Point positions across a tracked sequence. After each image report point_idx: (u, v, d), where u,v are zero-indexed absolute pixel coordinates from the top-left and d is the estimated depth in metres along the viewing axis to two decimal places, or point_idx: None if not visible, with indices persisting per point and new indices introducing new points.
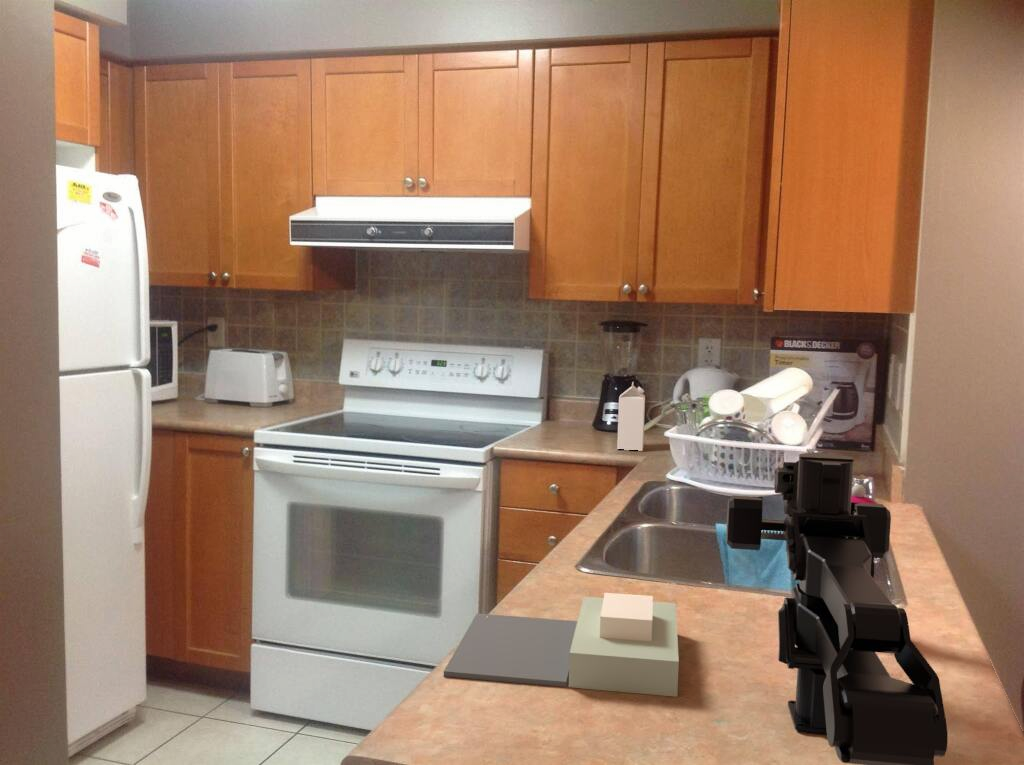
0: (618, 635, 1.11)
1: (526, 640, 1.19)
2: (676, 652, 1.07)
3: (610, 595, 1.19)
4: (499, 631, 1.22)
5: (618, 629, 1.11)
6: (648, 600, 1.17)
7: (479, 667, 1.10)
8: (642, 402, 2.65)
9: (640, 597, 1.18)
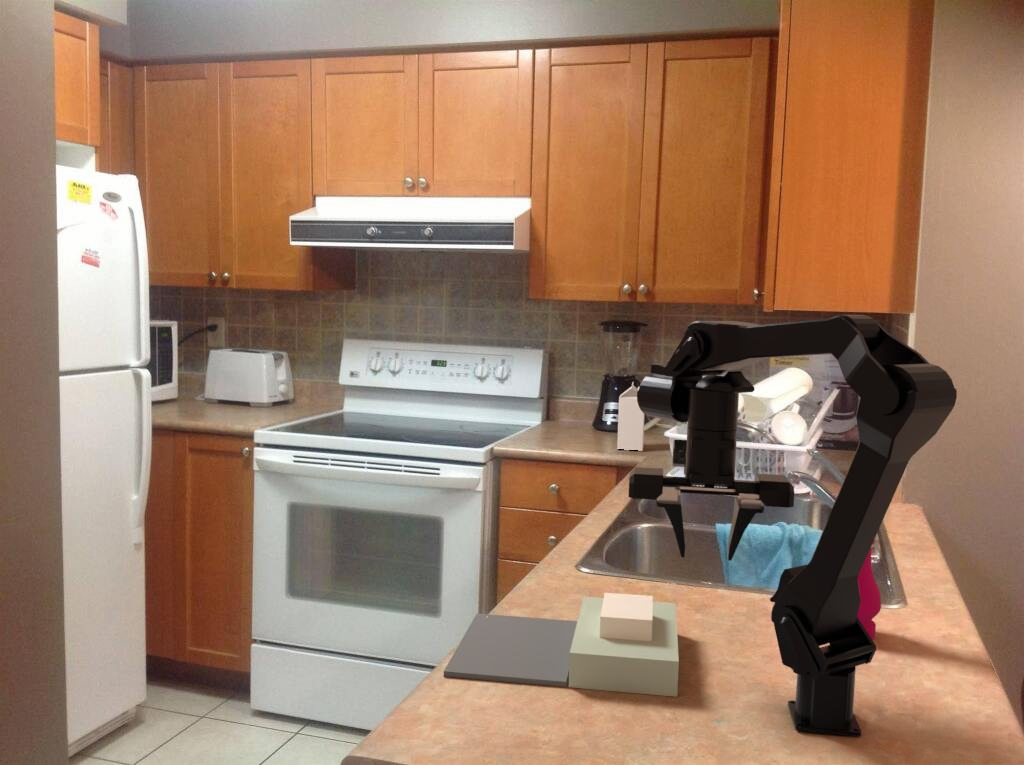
0: (618, 635, 1.11)
1: (526, 640, 1.19)
2: (676, 652, 1.07)
3: (610, 595, 1.19)
4: (499, 631, 1.22)
5: (618, 629, 1.11)
6: (648, 600, 1.17)
7: (479, 667, 1.10)
8: None
9: (640, 597, 1.18)
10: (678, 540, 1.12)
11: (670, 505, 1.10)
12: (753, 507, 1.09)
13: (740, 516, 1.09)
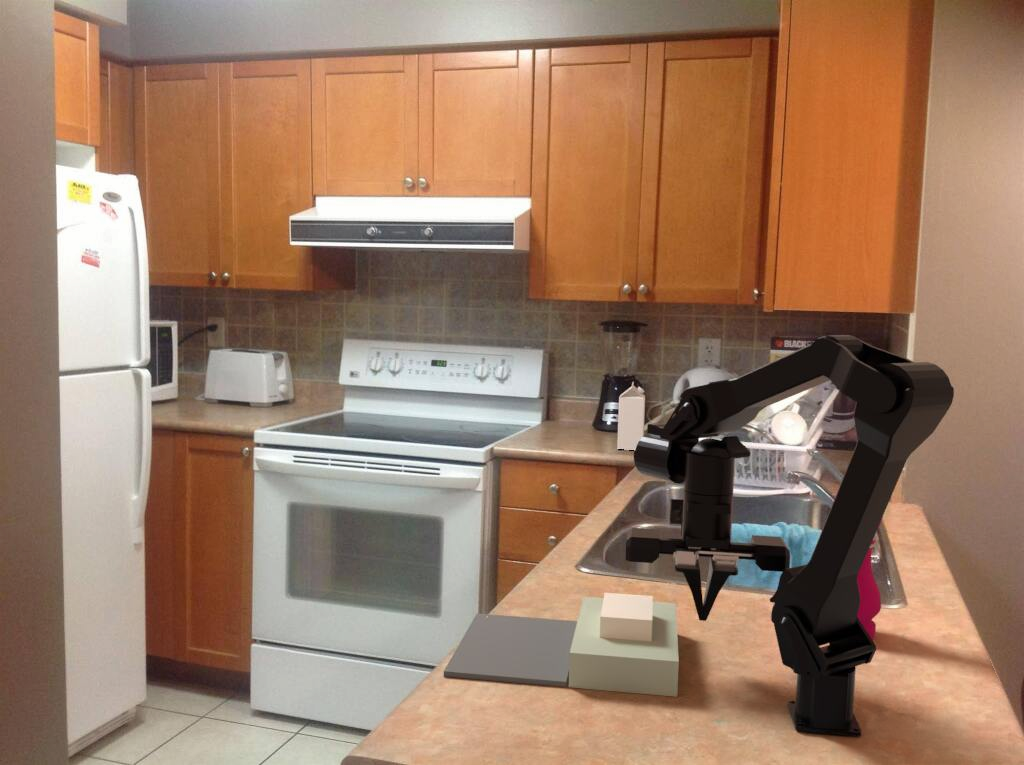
0: (618, 635, 1.11)
1: (526, 640, 1.19)
2: (676, 652, 1.07)
3: (610, 595, 1.19)
4: (499, 631, 1.22)
5: (618, 629, 1.11)
6: (648, 600, 1.17)
7: (479, 667, 1.10)
8: (642, 402, 2.65)
9: (640, 597, 1.18)
10: (696, 604, 1.12)
11: (689, 570, 1.10)
12: (727, 569, 1.10)
13: (714, 579, 1.10)
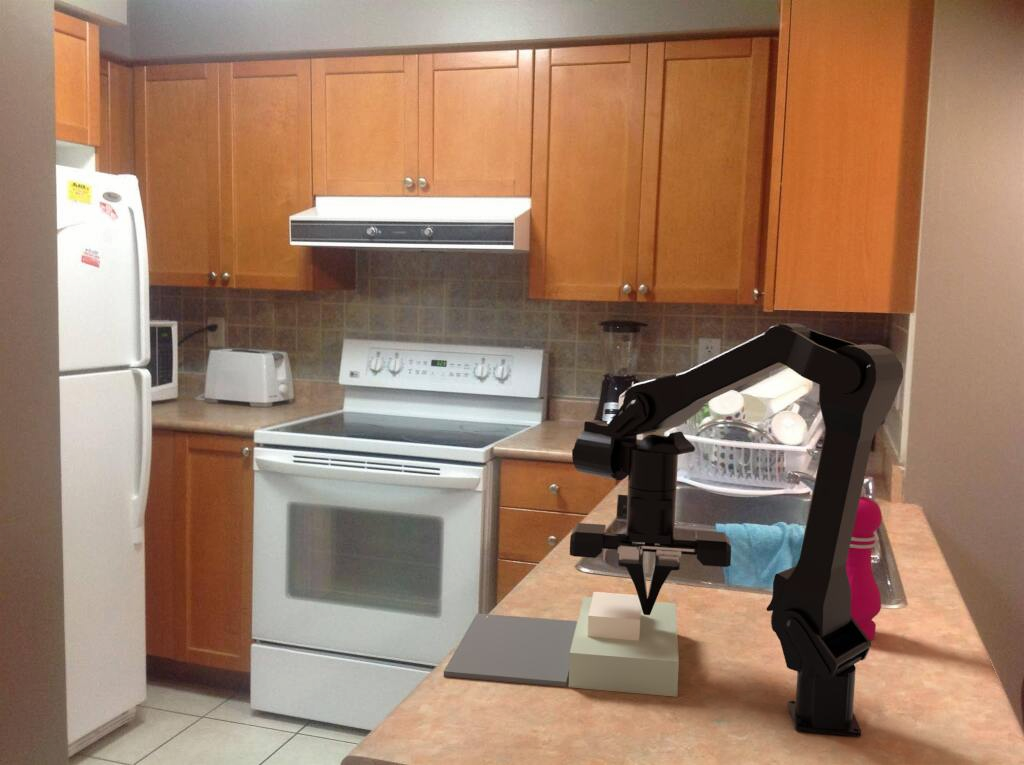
0: (606, 634, 1.11)
1: (526, 640, 1.19)
2: (676, 652, 1.07)
3: (599, 594, 1.19)
4: (499, 631, 1.22)
5: (606, 629, 1.11)
6: (636, 600, 1.17)
7: (479, 667, 1.10)
8: None
9: (629, 596, 1.18)
10: (640, 598, 1.13)
11: (632, 565, 1.11)
12: (669, 564, 1.11)
13: (657, 573, 1.11)
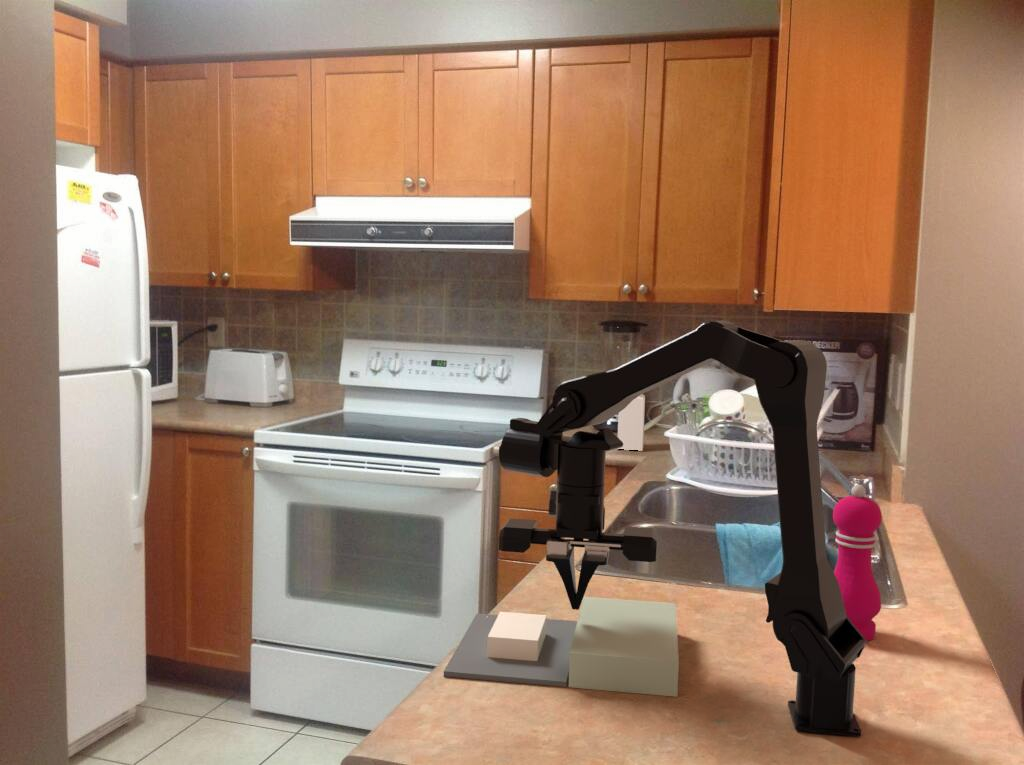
0: (519, 642, 1.12)
1: None
2: (676, 652, 1.07)
3: None
4: None
5: (519, 647, 1.12)
6: None
7: (479, 667, 1.10)
8: (642, 402, 2.65)
9: None
10: (568, 593, 1.15)
11: (559, 560, 1.13)
12: (596, 559, 1.13)
13: (584, 568, 1.13)
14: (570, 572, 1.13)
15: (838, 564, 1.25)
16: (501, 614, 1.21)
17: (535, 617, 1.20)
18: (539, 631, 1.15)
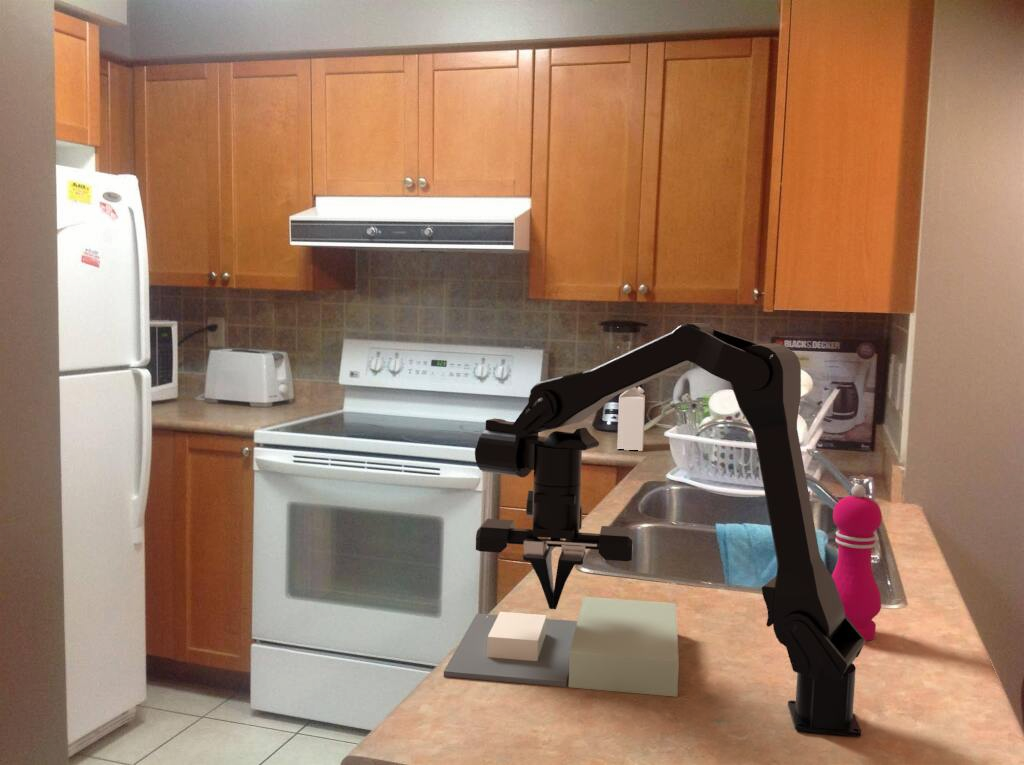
0: (519, 642, 1.12)
1: None
2: (676, 652, 1.07)
3: None
4: None
5: (519, 647, 1.12)
6: None
7: (479, 667, 1.10)
8: (642, 402, 2.65)
9: None
10: (545, 592, 1.15)
11: (535, 559, 1.13)
12: (572, 559, 1.13)
13: (560, 568, 1.13)
14: (547, 572, 1.14)
15: (838, 564, 1.25)
16: (501, 614, 1.21)
17: (535, 617, 1.20)
18: (539, 631, 1.15)
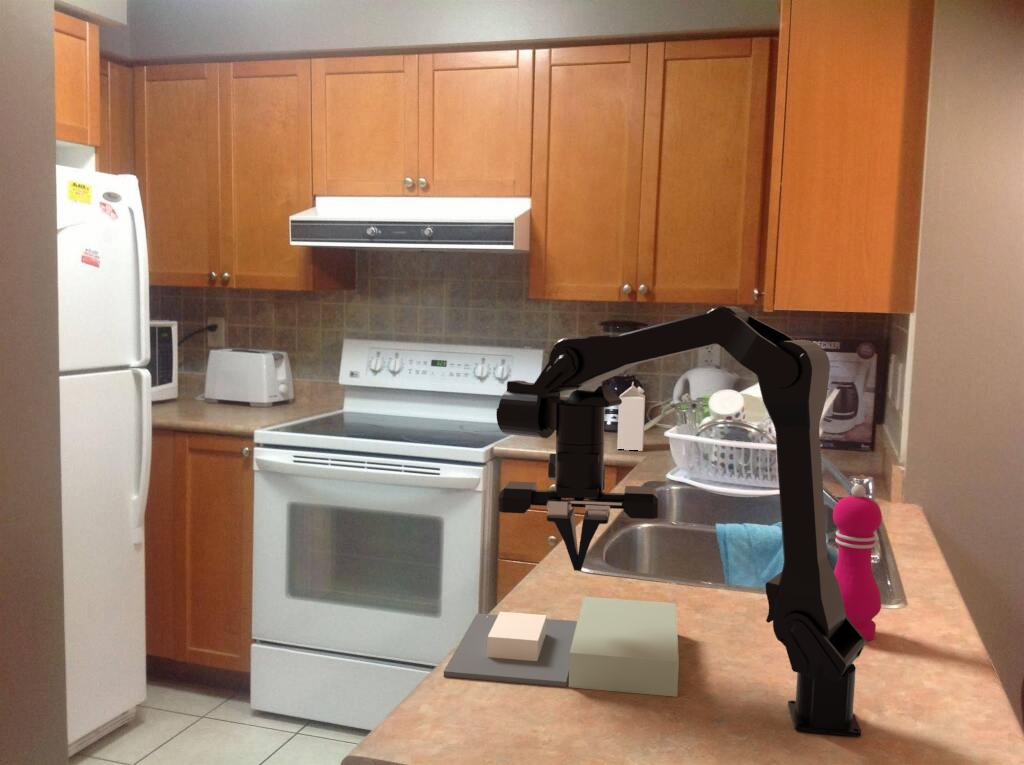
0: (519, 642, 1.12)
1: None
2: (676, 652, 1.07)
3: None
4: None
5: (519, 647, 1.12)
6: None
7: (479, 667, 1.10)
8: (642, 402, 2.65)
9: None
10: (570, 554, 1.13)
11: (560, 519, 1.12)
12: (597, 518, 1.12)
13: (585, 528, 1.12)
14: (571, 532, 1.12)
15: (838, 564, 1.25)
16: (501, 614, 1.21)
17: (535, 617, 1.20)
18: (539, 631, 1.15)
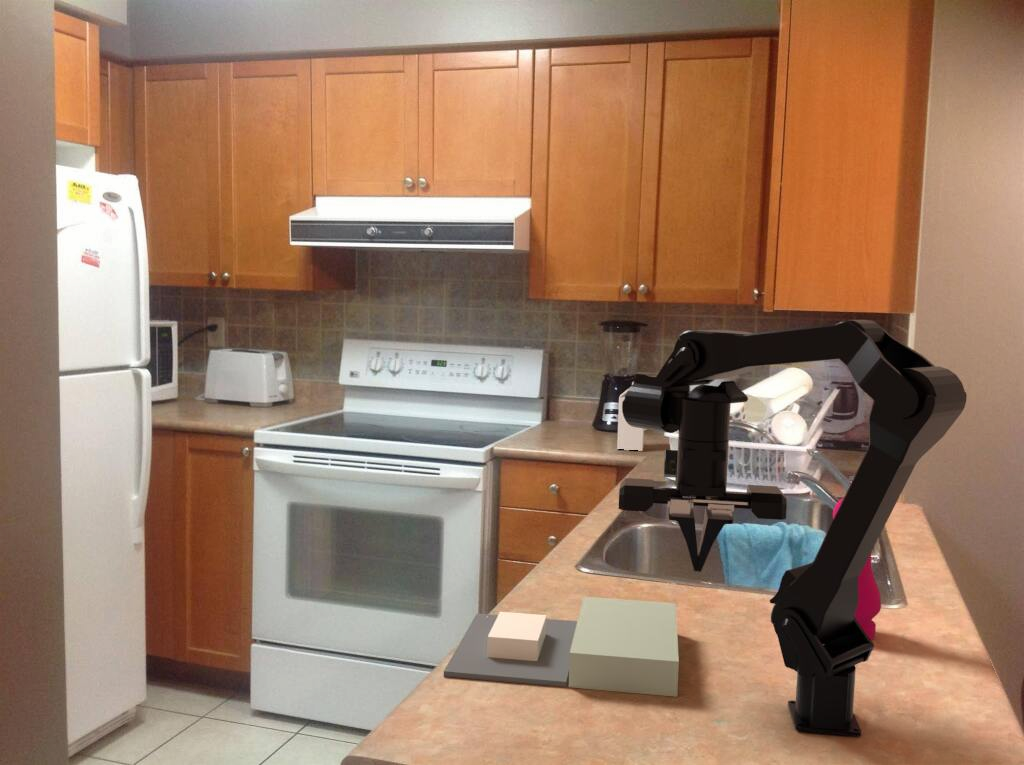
0: (519, 642, 1.12)
1: None
2: (676, 652, 1.07)
3: None
4: None
5: (519, 647, 1.12)
6: None
7: (479, 667, 1.10)
8: None
9: None
10: (691, 554, 1.10)
11: (683, 518, 1.08)
12: (722, 518, 1.08)
13: (709, 527, 1.08)
14: (694, 531, 1.08)
15: None
16: (501, 614, 1.21)
17: (535, 617, 1.20)
18: (539, 631, 1.15)
